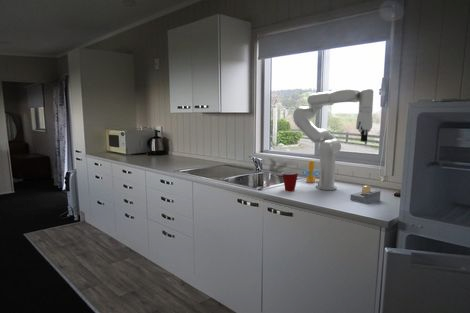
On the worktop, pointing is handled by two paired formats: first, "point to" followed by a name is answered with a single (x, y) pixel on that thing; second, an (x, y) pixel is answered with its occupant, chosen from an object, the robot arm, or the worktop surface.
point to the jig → (366, 197)
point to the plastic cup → (290, 180)
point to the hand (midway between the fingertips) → (363, 141)
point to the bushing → (365, 189)
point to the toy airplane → (311, 172)
